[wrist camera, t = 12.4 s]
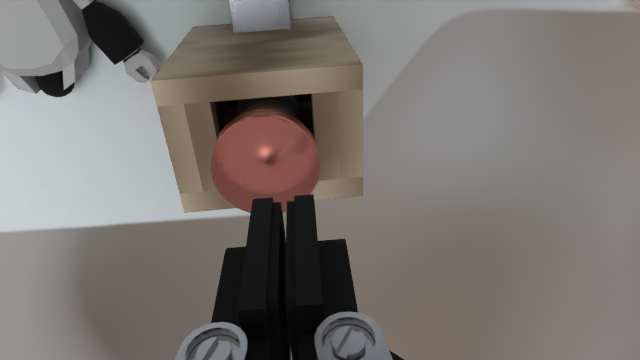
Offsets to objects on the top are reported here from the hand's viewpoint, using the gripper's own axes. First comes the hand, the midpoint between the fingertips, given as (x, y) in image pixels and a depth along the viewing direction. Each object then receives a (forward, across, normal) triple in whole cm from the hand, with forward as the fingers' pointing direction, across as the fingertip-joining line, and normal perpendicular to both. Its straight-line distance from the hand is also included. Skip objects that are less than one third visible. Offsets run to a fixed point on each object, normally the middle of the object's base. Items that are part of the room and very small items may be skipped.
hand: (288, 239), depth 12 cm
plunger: (+11, +1, 0) cm, 11 cm away
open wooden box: (+17, +1, 0) cm, 17 cm away
